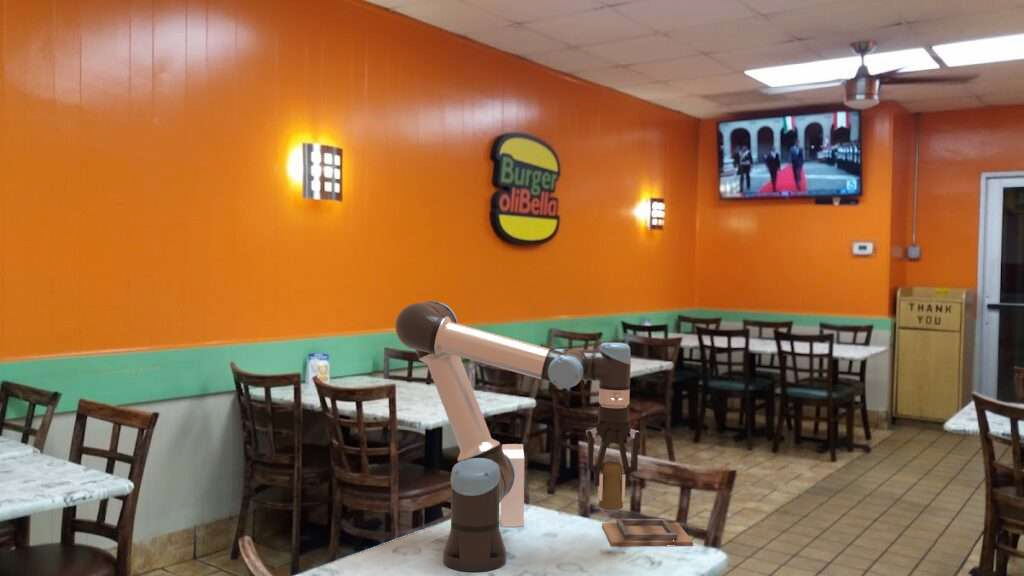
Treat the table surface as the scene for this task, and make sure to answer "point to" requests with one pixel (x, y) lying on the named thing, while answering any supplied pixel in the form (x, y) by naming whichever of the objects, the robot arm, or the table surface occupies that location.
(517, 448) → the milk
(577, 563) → the table surface
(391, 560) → the table surface
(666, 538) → the board
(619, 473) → the brown tall rounded piece
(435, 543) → the table surface
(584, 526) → the table surface
